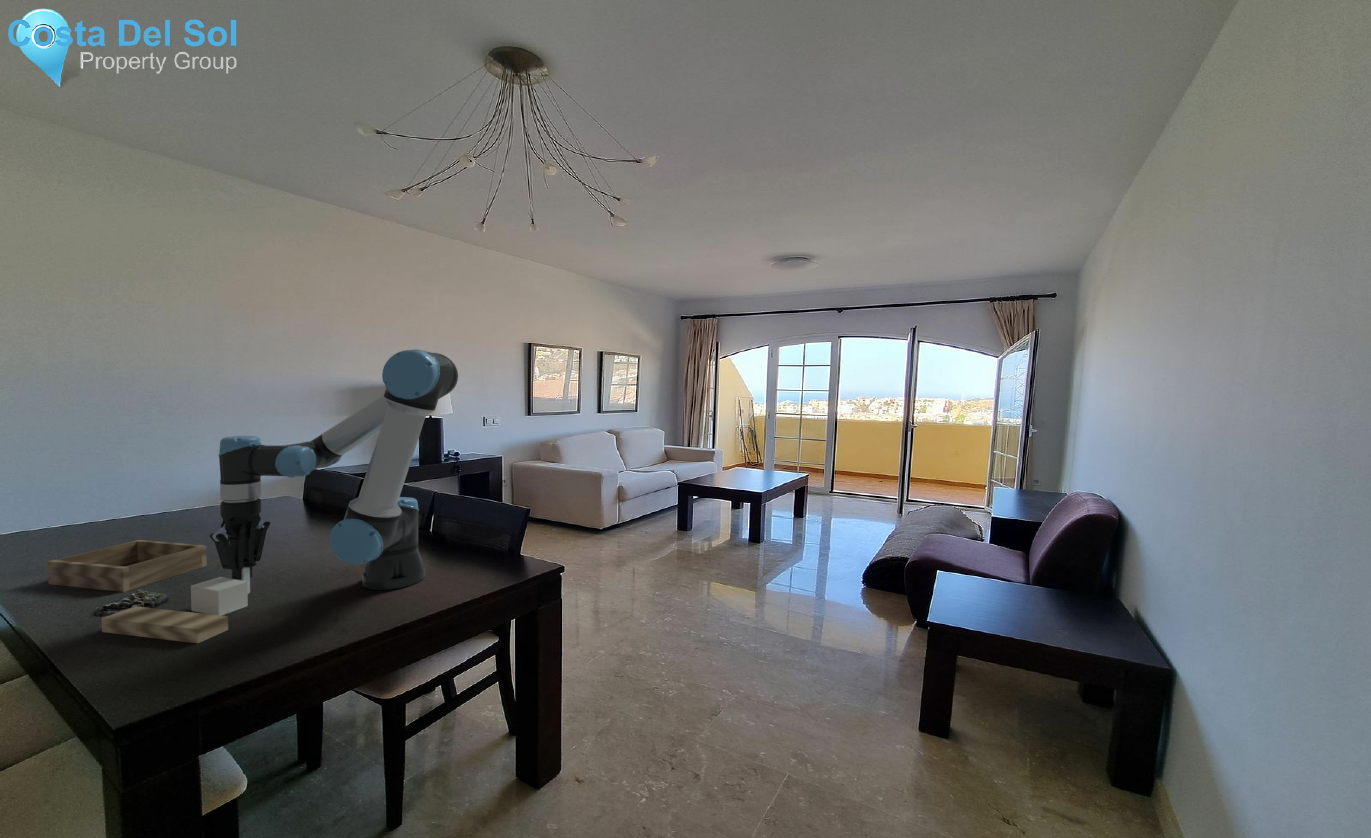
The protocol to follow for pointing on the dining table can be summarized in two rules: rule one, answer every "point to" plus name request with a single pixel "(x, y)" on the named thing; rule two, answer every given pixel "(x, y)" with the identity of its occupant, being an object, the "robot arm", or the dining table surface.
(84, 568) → the wooden serving tray
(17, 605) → the dining table surface
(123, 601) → the crumpled grey lump
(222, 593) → the block
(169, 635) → the batten
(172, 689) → the dining table surface
